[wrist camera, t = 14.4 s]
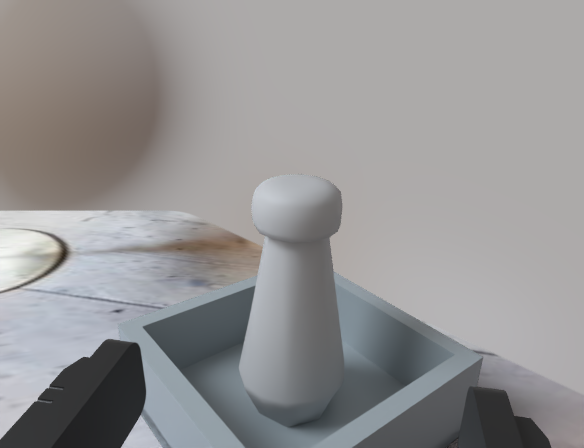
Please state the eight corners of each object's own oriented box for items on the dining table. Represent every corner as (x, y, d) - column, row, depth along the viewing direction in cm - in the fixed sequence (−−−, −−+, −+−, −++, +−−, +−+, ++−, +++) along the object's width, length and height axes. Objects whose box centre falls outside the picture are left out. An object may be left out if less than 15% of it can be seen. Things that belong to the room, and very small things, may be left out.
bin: (306, 315, 37) (309, 257, 35) (467, 429, 27) (483, 357, 25) (127, 394, 29) (117, 324, 27) (262, 596, 19) (262, 509, 17)
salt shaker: (240, 443, 25) (234, 204, 20) (238, 368, 30) (233, 164, 25) (353, 434, 26) (374, 201, 20) (332, 363, 31) (345, 163, 26)
